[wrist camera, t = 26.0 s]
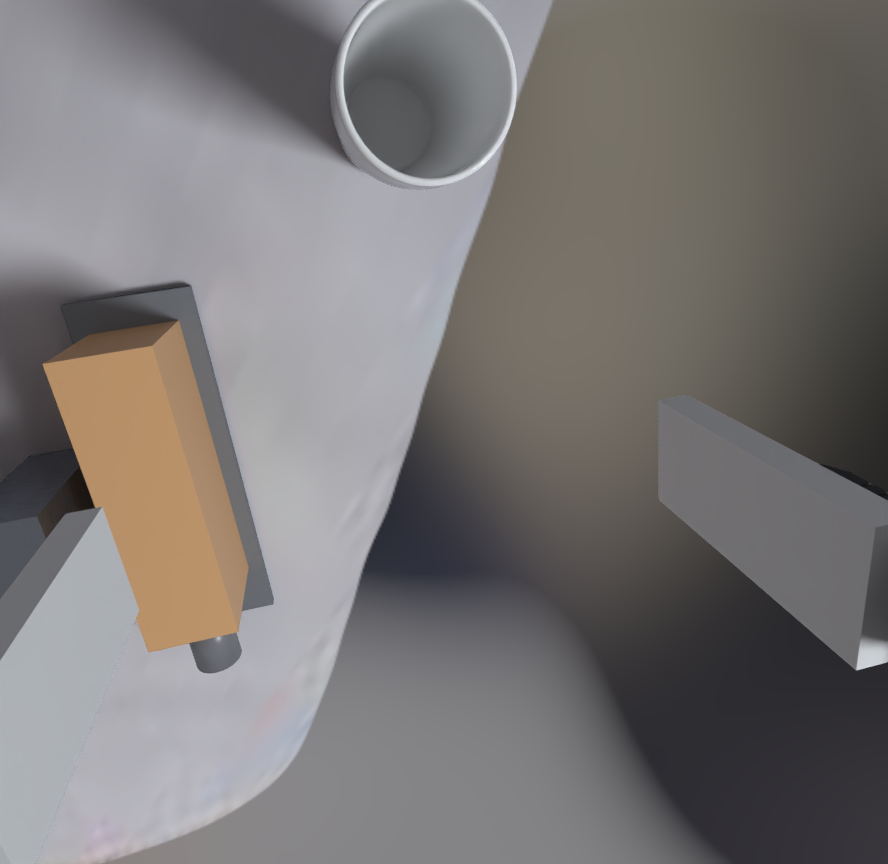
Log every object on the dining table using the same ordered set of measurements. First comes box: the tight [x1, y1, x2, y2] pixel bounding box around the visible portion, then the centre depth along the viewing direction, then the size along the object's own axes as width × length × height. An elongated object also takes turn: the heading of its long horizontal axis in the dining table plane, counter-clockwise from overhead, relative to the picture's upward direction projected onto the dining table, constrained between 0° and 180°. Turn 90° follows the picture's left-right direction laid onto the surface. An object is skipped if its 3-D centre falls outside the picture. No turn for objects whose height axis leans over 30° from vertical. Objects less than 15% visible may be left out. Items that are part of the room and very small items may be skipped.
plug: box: [42, 320, 249, 673], centre depth 38 cm, size 21×5×7 cm, turn 8°
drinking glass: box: [330, 0, 517, 190], centre depth 30 cm, size 7×7×15 cm
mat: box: [61, 285, 274, 611], centre depth 41 cm, size 22×7×1 cm, turn 7°
